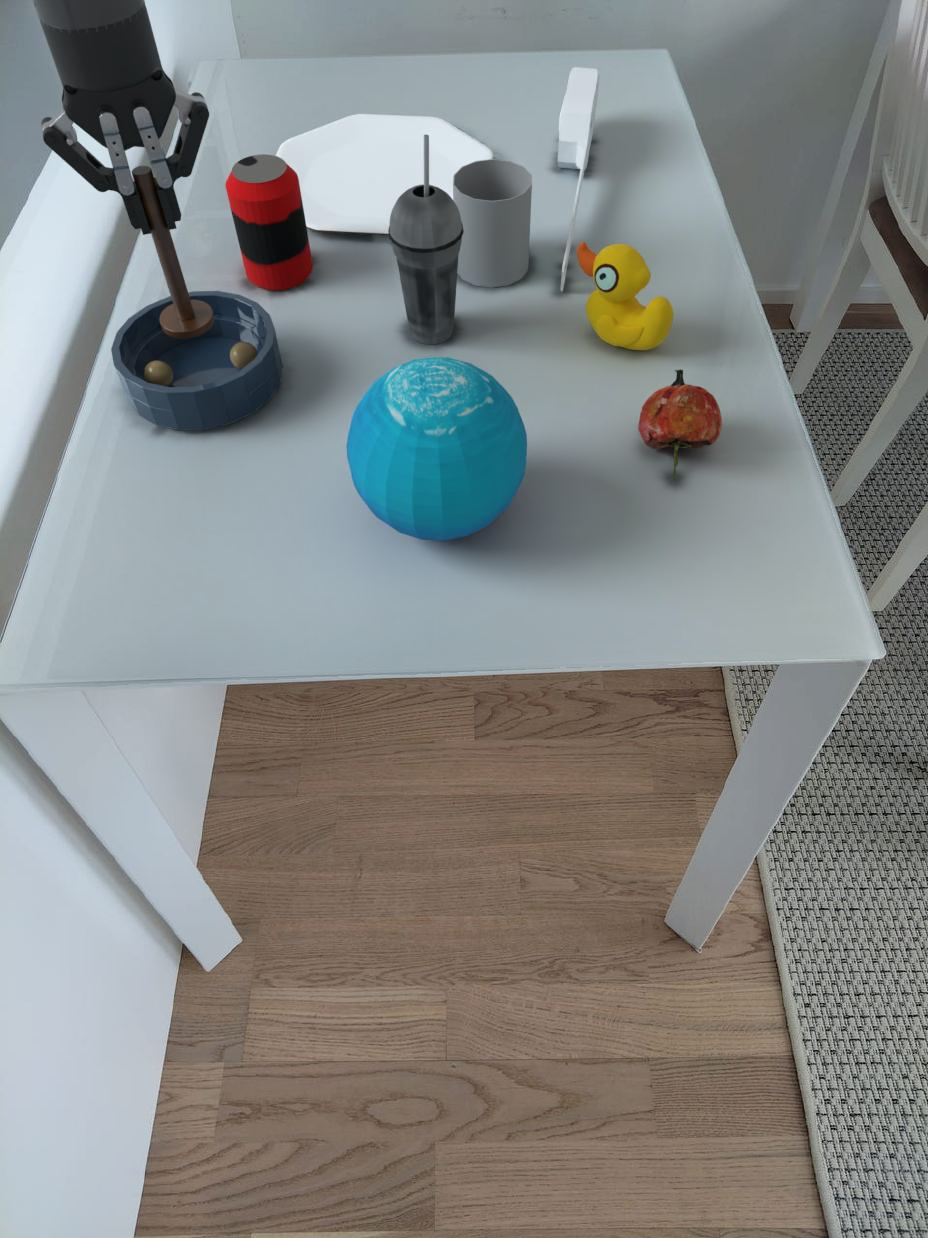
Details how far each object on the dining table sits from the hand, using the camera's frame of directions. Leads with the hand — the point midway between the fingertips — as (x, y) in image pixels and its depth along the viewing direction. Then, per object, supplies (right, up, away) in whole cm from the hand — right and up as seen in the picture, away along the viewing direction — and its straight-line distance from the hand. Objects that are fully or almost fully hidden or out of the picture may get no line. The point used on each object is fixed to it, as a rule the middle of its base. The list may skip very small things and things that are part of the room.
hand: (159, 226), depth 80 cm
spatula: (+39, +17, +33) cm, 53 cm away
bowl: (0, -10, +14) cm, 17 cm away
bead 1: (-4, -10, +11) cm, 16 cm away
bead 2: (+4, -8, +13) cm, 16 cm away
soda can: (+6, +5, +25) cm, 26 cm away
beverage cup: (+23, -4, +18) cm, 29 cm away
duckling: (+43, -5, +17) cm, 46 cm away
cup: (+30, +6, +25) cm, 39 cm away
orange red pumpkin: (+46, -18, +7) cm, 50 cm away
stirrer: (0, -6, +8) cm, 10 cm away
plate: (+16, +21, +36) cm, 45 cm away
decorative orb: (+24, -25, +3) cm, 35 cm away
